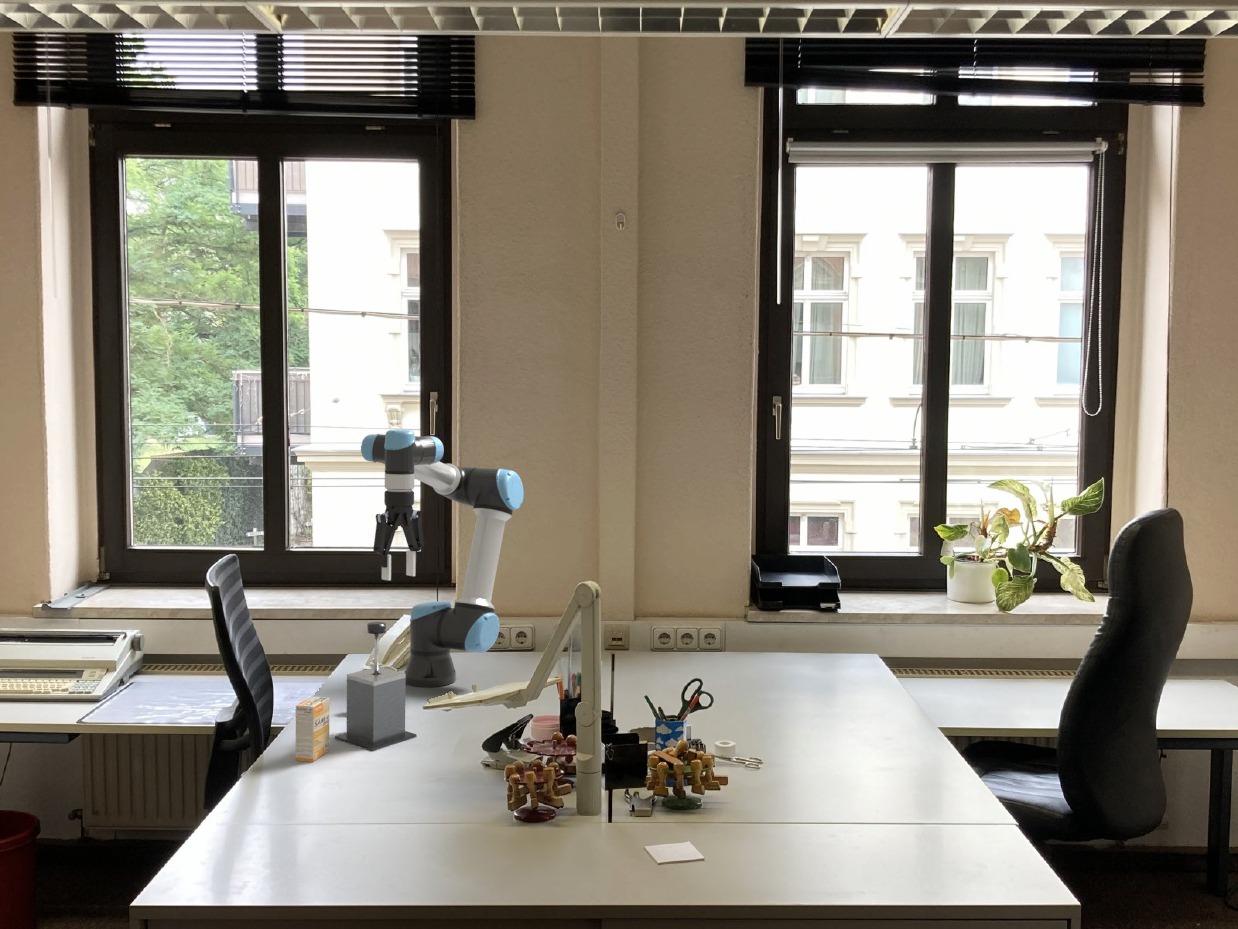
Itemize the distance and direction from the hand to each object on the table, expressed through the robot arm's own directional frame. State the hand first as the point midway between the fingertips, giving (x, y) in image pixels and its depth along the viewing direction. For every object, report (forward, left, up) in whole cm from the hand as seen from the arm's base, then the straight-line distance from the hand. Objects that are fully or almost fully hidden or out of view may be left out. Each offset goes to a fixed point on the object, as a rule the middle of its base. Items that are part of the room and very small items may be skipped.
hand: (398, 577), depth 278 cm
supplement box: (+32, +7, -37) cm, 50 cm away
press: (+14, +8, -37) cm, 41 cm away
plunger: (+14, +8, -23) cm, 28 cm away
